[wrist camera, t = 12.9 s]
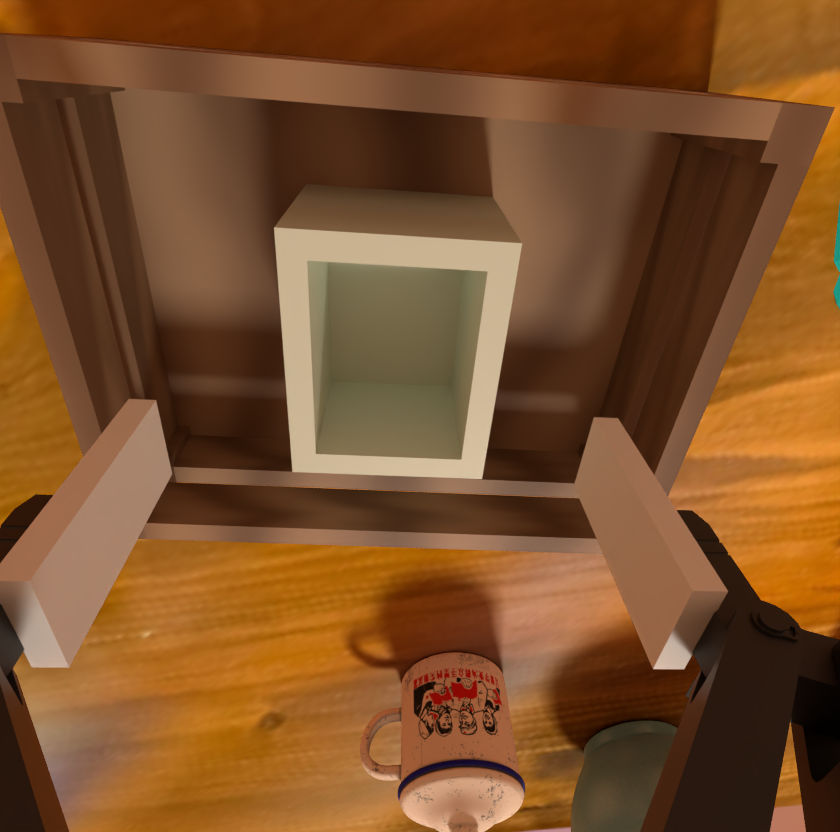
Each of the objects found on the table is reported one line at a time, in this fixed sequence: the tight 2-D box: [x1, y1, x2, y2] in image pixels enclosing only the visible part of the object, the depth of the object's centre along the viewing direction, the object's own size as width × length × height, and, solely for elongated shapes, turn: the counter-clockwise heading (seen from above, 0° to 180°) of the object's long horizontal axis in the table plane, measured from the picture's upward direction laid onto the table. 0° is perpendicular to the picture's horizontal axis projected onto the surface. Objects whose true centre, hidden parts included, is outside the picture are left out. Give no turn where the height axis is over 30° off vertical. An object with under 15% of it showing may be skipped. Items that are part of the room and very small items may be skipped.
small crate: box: [274, 184, 522, 479], centre depth 23 cm, size 8×10×7 cm
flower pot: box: [571, 721, 678, 832], centre depth 48 cm, size 16×16×11 cm
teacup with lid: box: [360, 652, 525, 832], centre depth 41 cm, size 12×9×12 cm
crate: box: [0, 33, 835, 554], centre depth 24 cm, size 25×19×8 cm
